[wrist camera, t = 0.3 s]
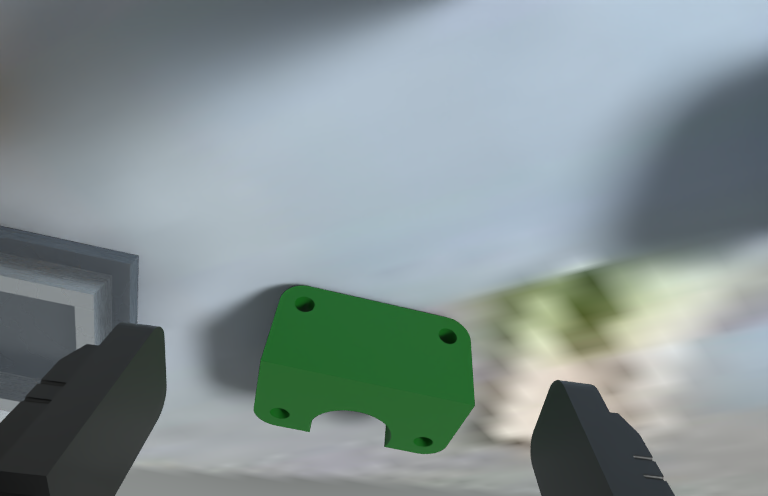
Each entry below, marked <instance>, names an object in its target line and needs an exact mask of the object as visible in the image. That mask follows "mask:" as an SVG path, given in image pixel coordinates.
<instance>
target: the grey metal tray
mask: <svg viewBox="0 0 768 496" xmlns="http://www.w3.org/2000/svg"><path fill="white" fill-rule="evenodd" d="M138 259H139V256H137V255H133V254H128V253H123V252H119V251H114V250H110V249H105V248H100V247H96V246H91V245H86V244H82V243H77V242H73V241H68V240H63V239H59V238H54V237H49V236H45V235H40V234H35V233H31V232H26V231H22V230H17V229H12V228H8V227H3V226H0V410H4V411H9V412H11V411H12V410H13V409H14V408H15V407H16V406H17V405H18V404H19V403H20V402H21V401H24V400H25V396H26V395H27V394H28V393H29V392H30V391H31V390H32V389H33V388H34V387H35V386H36V384H40V383H41V379H42V378H43V377H44V376H45V375H46V374H47V373H48V372H49V371H50V370H51V368H52V367H53V366H54V365H55V364H56V363H57V362H58V361H59V360H60V359H62V358H63V357H65V356H67V355H69V354H70V353H72V352H74V351H76V350H77V349H79V348H81V347H82V346H84V345H86V344H91V345H100V344H101V343H102V341H103V340H104V339H105V338H106V337H107V336H108V334H109V333H110V332H111V331H112V330H113V329H114V328H115V326H116V325H117V324H119V323H121V322H127V323H135V324H137V299H138Z"/></svg>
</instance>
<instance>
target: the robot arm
mask: <svg viewBox="0 0 768 496" xmlns="http://www.w3.org/2000/svg"><path fill="white" fill-rule="evenodd" d="M165 397H166V362H165V339H164V331H163V329H162V328H161V327H157V326H150V325H142V324H135V323H127V322H121V323H119V324H117V325H116V326H115V328H114V329H113V330H112V331H111V332H110V333H109V334H108V336H107V337H106V338H105V339H104V340H103V341H102V343H101V344H100V345H91V344H86V345H84V346H82V347H81V348H79V349H77V350H76V351H74V352H72V353H70V354H69V355H67V356H65V357H63V358H62V359H60V360H59V361H58V362H57V363H56V364H55V365H54V366H53V367H52V368H51V370H50V371H49V372H48V373H47V374H46V375H45V376H44V377H43V378H42V379H41V383H40V384H36V386H35V387H34V388H33V389H32V390H31V391H30V392H29V393H28V394H27V395H26V396H25V400H24V401H21V402H20V403H19V404H18V405H17V406H16V407H15V408H14V409H13V410H12V411H11V412H10V413H9V414H8V415H7V416H6V418H5V419H4V420H3V421H2V422H1V423H0V496H115V494H116V492H117V491H118V489H119V487H120V486H121V484H122V482H123V480H124V478H125V476H126V475H127V473H128V471H129V470H130V468H131V466H132V464H133V463H134V461H135V459H136V457H137V455H138V454H139V452H140V450H141V448H142V447H143V445H144V443H145V441H146V440H147V438H148V436H149V434H150V432H151V431H152V429H153V427H154V425H155V424H156V422H157V420H158V418H159V416H160V414H161V411H162V408H163V405H164V401H165ZM531 461H532V466H533V469H534V473H535V476H536V479H537V483H538V486H539V489H540V492H541V496H675V495H674V493H673V492H672V490H671V488H670V486H669V485H668V483H667V481H664V480H663V477H664V476H663V474H662V473H661V471H660V469H659V467H658V466H657V464H656V462H654V461H652V455H651V454H650V452H649V450H648V448H647V447H646V445H645V443H644V441H643V440H642V438H641V436H640V435H639V433H638V432H637V431H636V430H634V429H633V428H632V427H631V426H630V425H629V424H628V423H627V422H626V421H625V420H624V419H623V418H622V417H621V416H620V415H619V414H618V413H610V412H609V410H608V408H607V406H606V404H605V402H604V401H603V399H602V397H601V395H600V393H599V391H598V390H597V388H596V387H595V386H593V385H591V384H583V383H575V382H568V381H560V380H556V381H554V382H553V383H552V385H551V386H550V389H549V391H548V394H547V397H546V399H545V402H544V405H543V407H542V410H541V413H540V415H539V418H538V421H537V423H536V426H535V429H534V431H533V435H532V439H531Z"/></svg>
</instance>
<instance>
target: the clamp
mask: <svg viewBox="0 0 768 496" xmlns="http://www.w3.org/2000/svg"><path fill="white" fill-rule="evenodd" d="M474 406H475V400H474V385H473V369H472V354H471V340H470V336H469V334H468V332H467V330H466V329H465V328H464V327H463V326H462V325H461V324H460V323H458V322H457V321H455V320H453V319H450V318H447V317H442V316H438V315H434V314H429V313H425V312H420V311H416V310H411V309H407V308H403V307H398V306H394V305H389V304H385V303H381V302H376V301H372V300H367V299H363V298H358V297H354V296H350V295H345V294H341V293H336V292H332V291H328V290H323V289H319V288H314V287H310V286H295V287H292V288H289V289H288V290H286V291H285V292H284V293H283V294H282V296H281V298H280V301H279V304H278V307H277V310H276V313H275V316H274V320H273V323H272V326H271V329H270V332H269V336H268V339H267V342H266V345H265V348H264V351H263V355H262V358H261V361H260V368H259V375H258V382H257V389H256V396H255V403H254V413H255V414H256V416H257V417H258V418H260V419H261V420H263V421H264V422H267V423H269V424H272V425H276V426H281V427H287V428H292V429H297V430H302V431H307V432H310V427H311V422H312V419H314V418H315V417H316V416H318V415H320V414H322V413H325V412H330V411H337V410H348V411H356V412H361V413H365V414H368V415H371V416H373V417H375V418H377V419H379V420H381V421H382V422H383V423H385V424H386V431H385V444H384V447H388V448H393V449H399V450H404V451H409V452H414V453H420V454H431V453H436V452H439V451H441V450H443V449H444V448H446V446H447V445H448V443H449V442H450V441H451V439H452V438H453V436H454V435H455V433H456V432H457V430H458V429H459V428H460V426H461V425H462V423H463V422H464V420H465V419H466V418H467V416H468V415H469V413H470V412H471V410H472V409H473V408H474Z"/></svg>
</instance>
